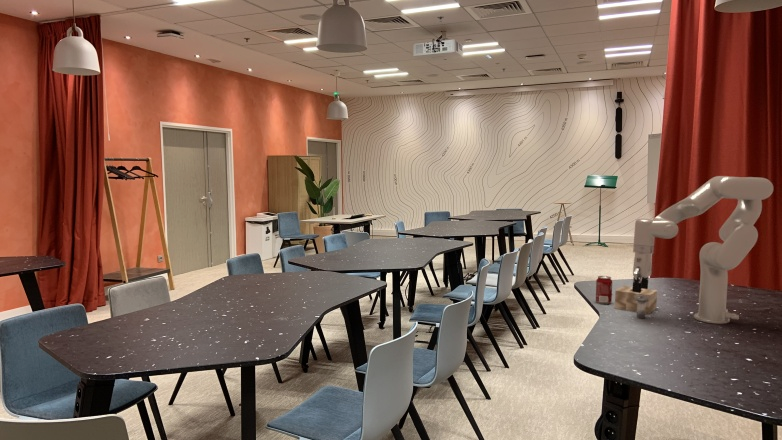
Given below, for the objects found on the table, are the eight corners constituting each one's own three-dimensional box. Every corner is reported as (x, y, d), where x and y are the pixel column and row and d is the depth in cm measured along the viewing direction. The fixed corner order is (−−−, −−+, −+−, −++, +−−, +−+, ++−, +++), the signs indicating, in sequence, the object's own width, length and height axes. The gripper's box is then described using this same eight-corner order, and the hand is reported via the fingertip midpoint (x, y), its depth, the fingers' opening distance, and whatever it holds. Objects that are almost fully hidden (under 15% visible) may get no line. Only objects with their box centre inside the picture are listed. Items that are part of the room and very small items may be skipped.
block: (656, 308, 238) (657, 290, 237) (648, 313, 229) (649, 295, 228) (623, 303, 247) (623, 285, 246) (614, 308, 238) (615, 290, 237)
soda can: (609, 305, 243) (610, 279, 242) (593, 303, 247) (594, 277, 246) (613, 302, 248) (614, 276, 247) (598, 300, 252) (599, 274, 251)
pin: (649, 317, 224) (650, 296, 223) (646, 320, 219) (647, 298, 218) (635, 315, 227) (636, 294, 226) (631, 317, 223) (632, 296, 222)
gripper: (647, 252, 211) (643, 295, 213) (658, 248, 225) (655, 288, 226) (627, 250, 216) (624, 292, 218) (639, 246, 229) (636, 285, 231)
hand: (640, 290), depth 222 cm, fingers open, 9 cm apart
